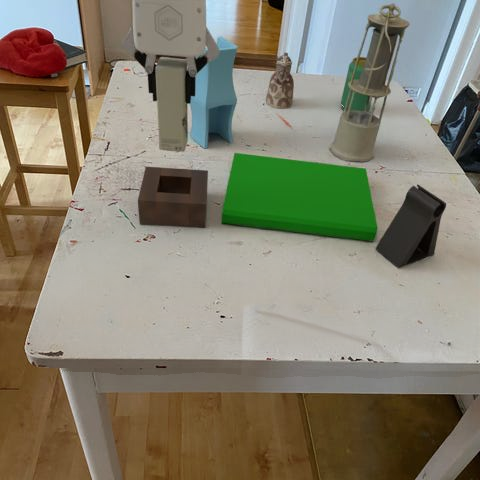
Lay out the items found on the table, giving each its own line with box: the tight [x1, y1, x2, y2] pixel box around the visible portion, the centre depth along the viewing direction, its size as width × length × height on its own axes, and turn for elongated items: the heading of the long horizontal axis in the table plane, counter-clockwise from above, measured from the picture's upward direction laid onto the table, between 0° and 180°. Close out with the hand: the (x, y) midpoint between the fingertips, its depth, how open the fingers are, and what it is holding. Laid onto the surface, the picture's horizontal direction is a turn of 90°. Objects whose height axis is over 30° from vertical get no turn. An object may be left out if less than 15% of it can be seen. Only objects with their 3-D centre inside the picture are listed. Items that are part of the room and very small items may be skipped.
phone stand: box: [375, 183, 447, 269], centre depth 81 cm, size 9×6×12 cm, turn 121°
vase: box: [189, 36, 238, 150], centre depth 103 cm, size 8×8×20 cm
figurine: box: [265, 52, 295, 110], centre depth 124 cm, size 7×7×12 cm
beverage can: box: [340, 56, 373, 111], centre depth 126 cm, size 8×8×12 cm
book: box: [221, 152, 378, 242], centre depth 93 cm, size 22×28×3 cm
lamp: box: [329, 3, 411, 162], centre depth 100 cm, size 10×13×30 cm
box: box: [155, 56, 189, 153], centre depth 75 cm, size 5×4×13 cm
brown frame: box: [137, 166, 209, 229], centre depth 87 cm, size 12×12×5 cm
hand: (172, 97), depth 74 cm, fingers closed on box, 4 cm apart
